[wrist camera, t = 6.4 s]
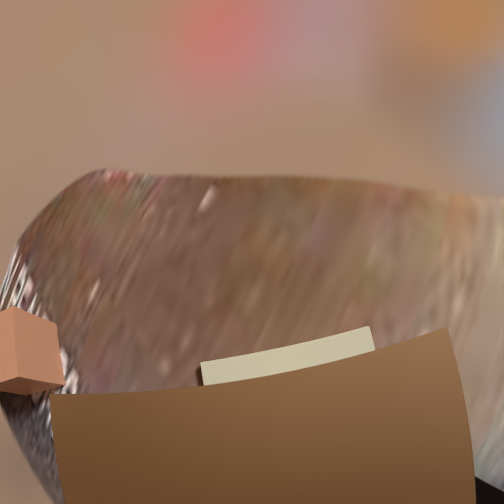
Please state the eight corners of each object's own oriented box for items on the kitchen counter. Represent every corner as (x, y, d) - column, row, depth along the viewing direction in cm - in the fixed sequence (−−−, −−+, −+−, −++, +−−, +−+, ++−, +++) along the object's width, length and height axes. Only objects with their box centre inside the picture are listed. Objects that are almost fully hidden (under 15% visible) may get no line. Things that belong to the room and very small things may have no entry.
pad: (398, 481, 13) (401, 483, 13) (231, 513, 14) (229, 516, 14) (367, 327, 18) (369, 325, 17) (203, 363, 18) (200, 362, 18)
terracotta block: (66, 385, 19) (18, 376, 15) (27, 395, 19) (-18, 387, 15) (56, 324, 21) (12, 305, 17) (20, 339, 21) (-22, 324, 17)
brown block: (354, 465, 13) (463, 627, 1) (263, 482, 13) (128, 651, 1) (339, 382, 15) (446, 326, 3) (249, 400, 16) (49, 393, 3)
